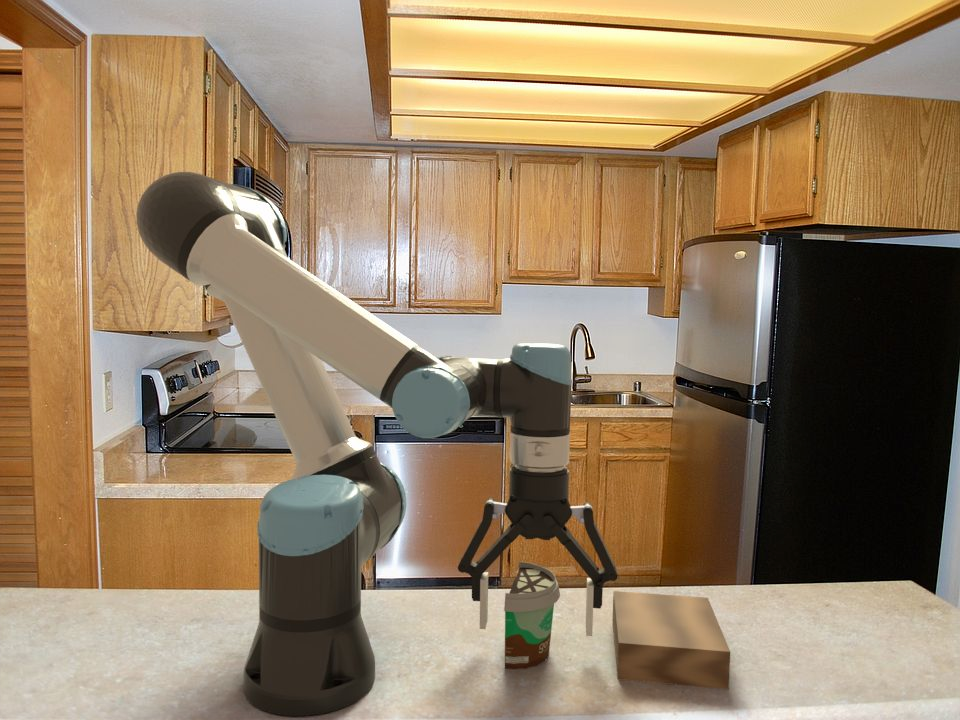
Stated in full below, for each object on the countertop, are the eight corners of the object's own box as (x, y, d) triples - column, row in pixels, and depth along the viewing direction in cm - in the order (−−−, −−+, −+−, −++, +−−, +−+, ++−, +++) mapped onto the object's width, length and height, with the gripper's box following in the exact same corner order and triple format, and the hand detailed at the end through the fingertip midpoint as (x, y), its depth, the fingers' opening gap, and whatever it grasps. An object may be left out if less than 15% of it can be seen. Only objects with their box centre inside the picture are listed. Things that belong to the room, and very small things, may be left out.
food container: (553, 680, 88) (555, 600, 87) (502, 674, 89) (504, 594, 89) (562, 635, 100) (564, 564, 99) (517, 630, 101) (519, 560, 101)
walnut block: (617, 682, 89) (618, 642, 88) (612, 625, 105) (613, 591, 104) (728, 692, 87) (730, 651, 87) (706, 632, 103) (707, 597, 103)
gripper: (437, 468, 90) (435, 634, 92) (642, 476, 88) (636, 648, 89) (446, 455, 98) (445, 609, 100) (636, 463, 95) (631, 621, 97)
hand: (535, 628), depth 94 cm, fingers open, 13 cm apart
